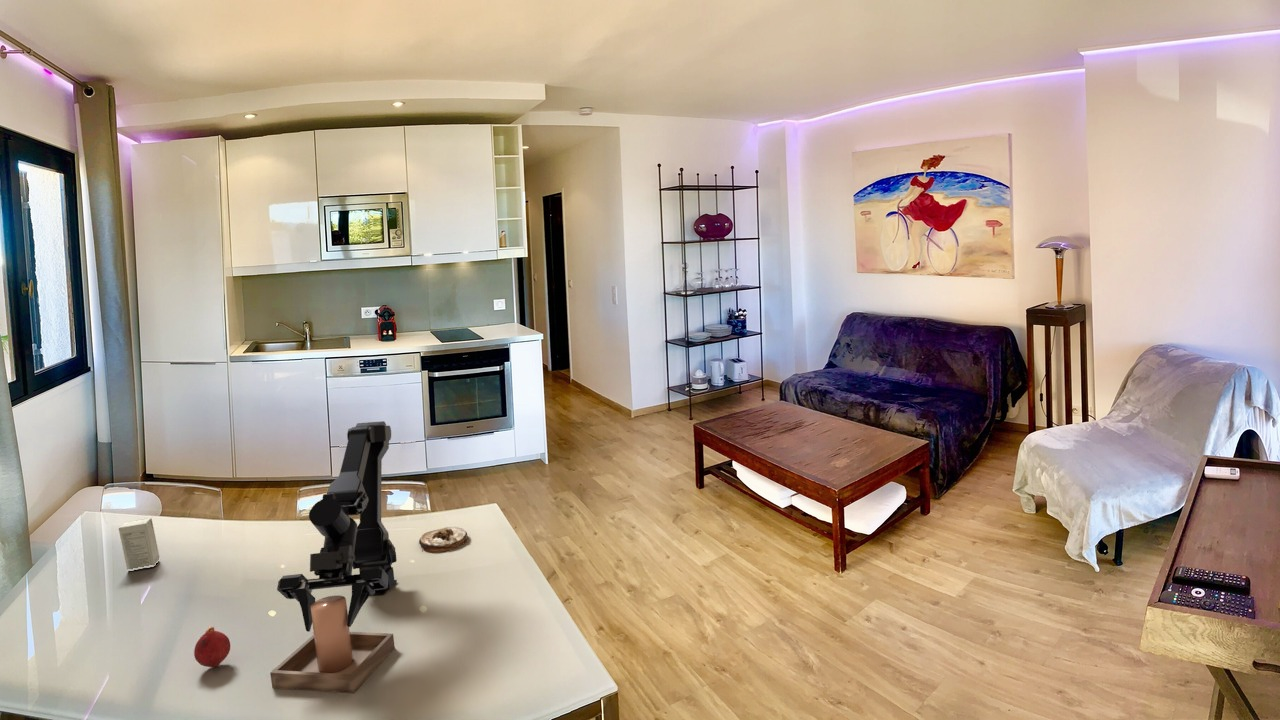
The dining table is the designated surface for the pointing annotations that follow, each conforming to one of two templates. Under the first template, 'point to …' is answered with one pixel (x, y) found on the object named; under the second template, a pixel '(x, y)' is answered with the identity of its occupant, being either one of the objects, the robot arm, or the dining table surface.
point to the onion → (212, 648)
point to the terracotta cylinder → (331, 634)
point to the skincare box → (139, 543)
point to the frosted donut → (443, 539)
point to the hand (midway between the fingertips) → (328, 628)
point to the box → (306, 676)
